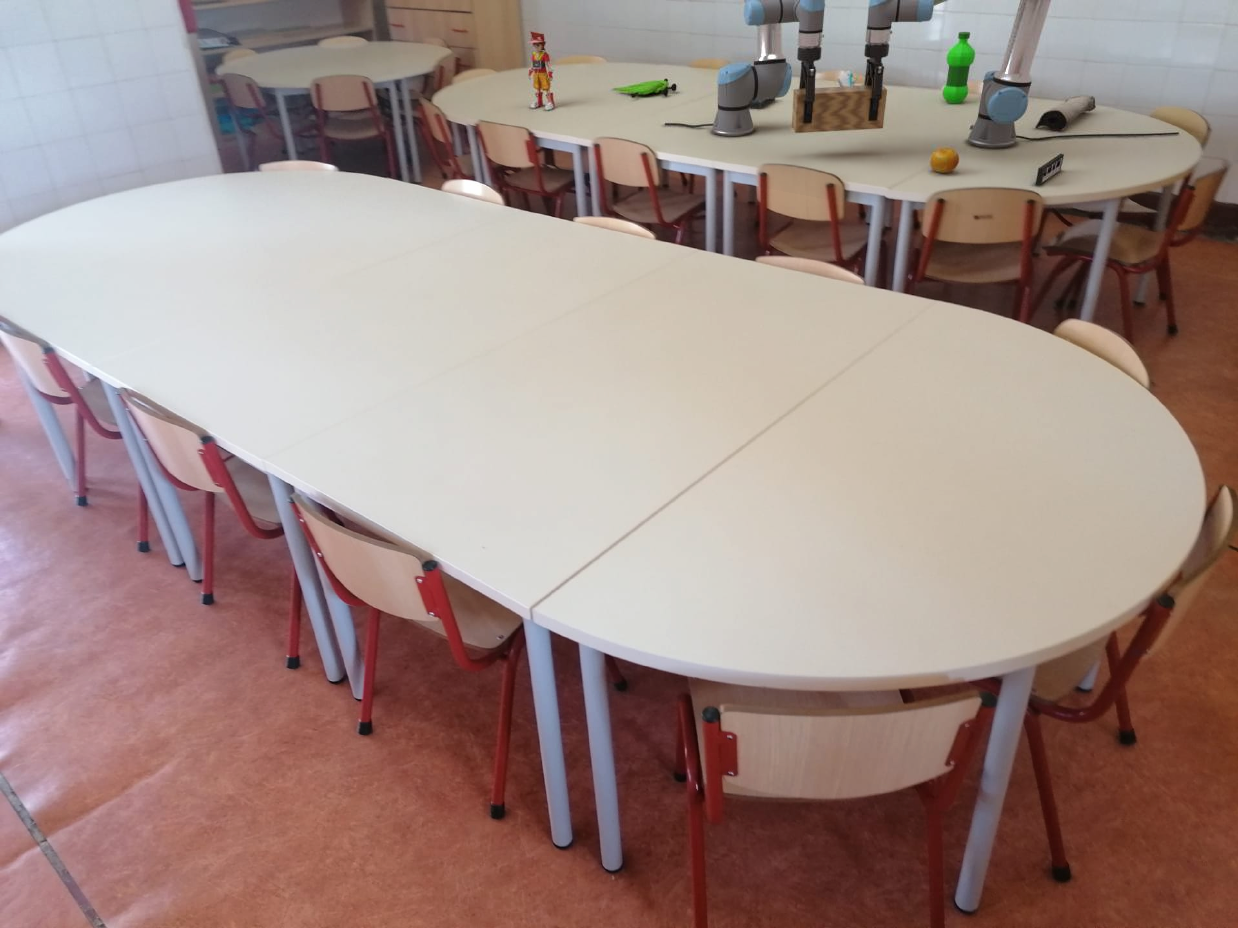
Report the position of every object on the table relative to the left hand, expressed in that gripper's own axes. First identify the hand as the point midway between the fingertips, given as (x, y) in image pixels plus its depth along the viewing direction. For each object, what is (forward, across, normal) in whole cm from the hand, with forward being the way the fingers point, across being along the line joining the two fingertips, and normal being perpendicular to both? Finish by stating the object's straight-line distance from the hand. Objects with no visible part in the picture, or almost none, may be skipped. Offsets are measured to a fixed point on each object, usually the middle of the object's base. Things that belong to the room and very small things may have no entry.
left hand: (805, 119), depth 300 cm
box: (+3, 0, -11) cm, 11 cm away
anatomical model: (+12, +82, -33) cm, 89 cm away
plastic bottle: (+12, +62, -69) cm, 94 cm away
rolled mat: (+12, +27, -99) cm, 103 cm away
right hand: (0, 0, -22) cm, 22 cm away
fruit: (+12, -25, -40) cm, 49 cm away
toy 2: (+12, +108, +54) cm, 121 cm away
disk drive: (+12, +75, +7) cm, 76 cm away
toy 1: (+12, +88, +97) cm, 132 cm away
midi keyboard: (+12, -36, -69) cm, 79 cm away
